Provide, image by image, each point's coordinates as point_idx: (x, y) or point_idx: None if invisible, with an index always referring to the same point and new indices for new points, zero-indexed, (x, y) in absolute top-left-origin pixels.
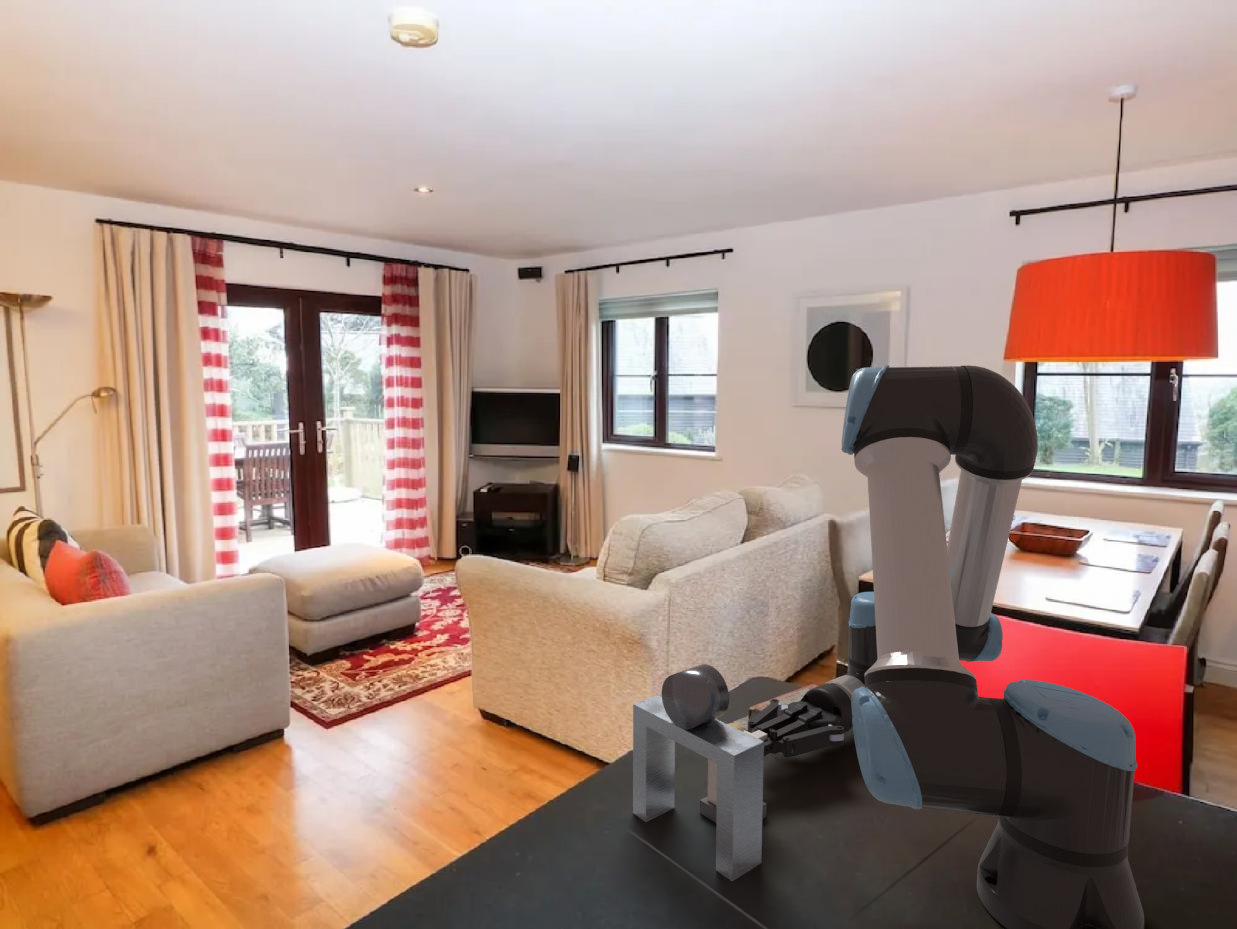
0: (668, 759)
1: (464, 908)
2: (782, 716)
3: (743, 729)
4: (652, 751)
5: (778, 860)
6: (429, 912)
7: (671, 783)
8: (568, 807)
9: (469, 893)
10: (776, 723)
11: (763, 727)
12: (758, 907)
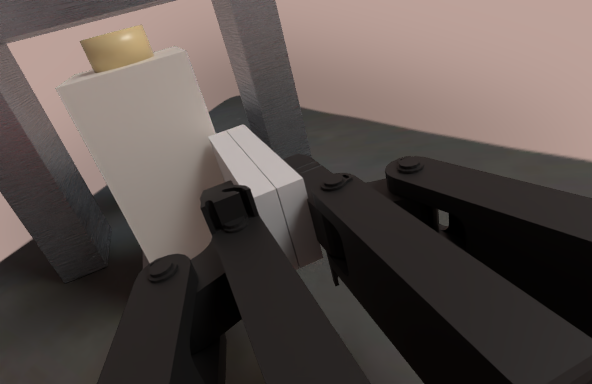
0: (250, 88)
1: (218, 110)
2: (543, 331)
3: (82, 42)
4: (230, 52)
5: (45, 313)
6: (225, 102)
7: (267, 141)
8: (335, 120)
9: (232, 108)
10: (384, 261)
11: (337, 199)
12: (14, 263)
